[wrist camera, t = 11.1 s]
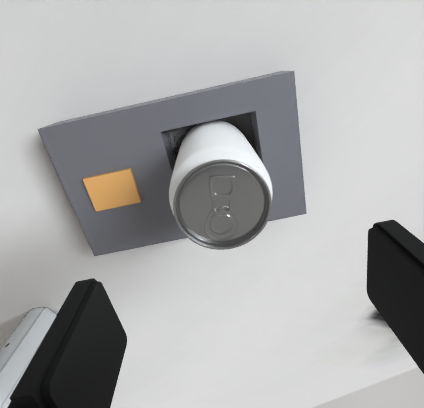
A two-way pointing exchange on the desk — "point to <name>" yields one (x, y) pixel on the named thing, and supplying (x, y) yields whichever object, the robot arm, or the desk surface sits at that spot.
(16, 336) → the photo printer
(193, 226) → the can
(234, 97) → the grey socket block
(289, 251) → the desk surface
